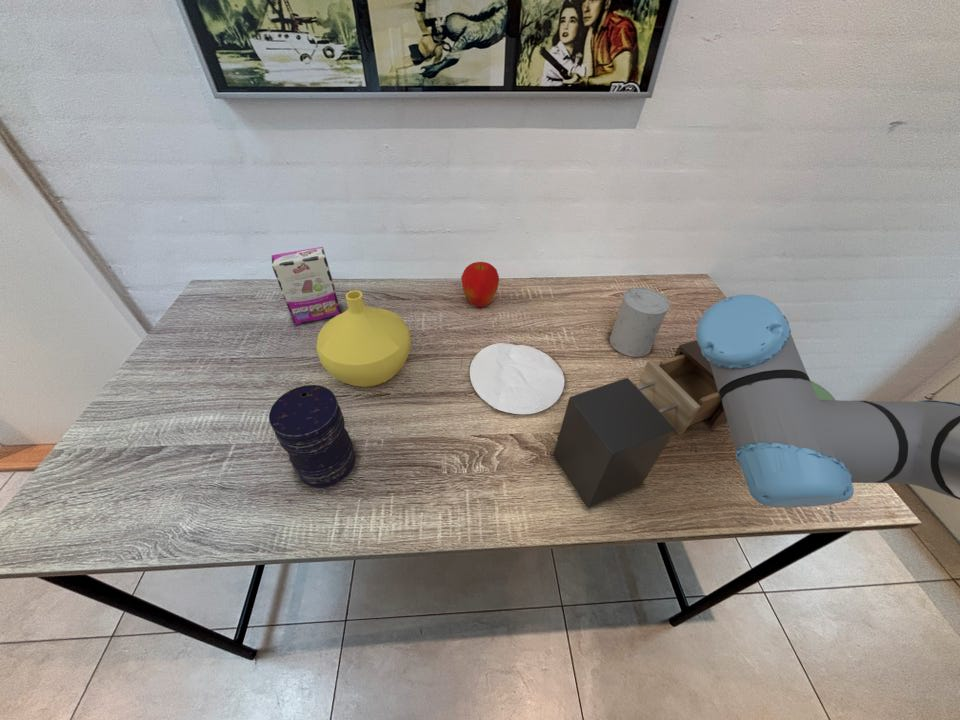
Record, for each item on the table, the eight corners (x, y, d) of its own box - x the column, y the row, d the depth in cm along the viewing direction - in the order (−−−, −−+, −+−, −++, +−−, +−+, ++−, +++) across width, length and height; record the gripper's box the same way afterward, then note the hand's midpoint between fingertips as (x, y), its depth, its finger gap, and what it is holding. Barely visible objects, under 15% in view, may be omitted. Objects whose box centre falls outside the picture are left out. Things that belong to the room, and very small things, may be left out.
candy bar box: (339, 304, 103) (323, 245, 92) (342, 316, 100) (326, 256, 88) (292, 313, 100) (270, 253, 89) (294, 326, 97) (271, 265, 85)
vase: (415, 339, 95) (407, 267, 81) (411, 399, 82) (401, 326, 68) (334, 341, 93) (313, 268, 80) (318, 403, 80) (288, 328, 67)
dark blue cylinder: (357, 482, 68) (338, 429, 58) (296, 495, 66) (264, 443, 56) (354, 434, 75) (337, 379, 65) (298, 445, 73) (271, 390, 63)
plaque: (453, 361, 89) (453, 357, 88) (528, 335, 97) (529, 330, 96) (500, 431, 78) (501, 427, 76) (582, 395, 85) (583, 390, 84)
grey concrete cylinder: (642, 329, 100) (659, 286, 91) (657, 356, 93) (677, 313, 84) (604, 330, 99) (617, 287, 90) (616, 357, 92) (632, 314, 84)
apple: (495, 292, 109) (498, 252, 100) (499, 313, 102) (502, 272, 94) (460, 293, 108) (460, 252, 100) (462, 314, 102) (462, 273, 93)
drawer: (656, 444, 74) (672, 417, 69) (614, 395, 83) (625, 368, 77) (736, 412, 80) (756, 385, 75) (689, 369, 89) (704, 342, 83)
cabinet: (711, 427, 79) (735, 394, 72) (662, 378, 88) (679, 345, 81) (769, 403, 84) (796, 370, 77) (717, 359, 92) (737, 326, 86)
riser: (641, 485, 70) (675, 429, 58) (587, 508, 66) (613, 454, 55) (603, 435, 77) (627, 377, 66) (553, 454, 73) (569, 396, 62)
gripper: (682, 341, 57) (723, 391, 72) (809, 468, 43) (826, 497, 58) (729, 304, 55) (761, 364, 70) (880, 426, 41) (879, 468, 56)
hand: (791, 425), depth 64 cm, fingers closed on tin, 8 cm apart
